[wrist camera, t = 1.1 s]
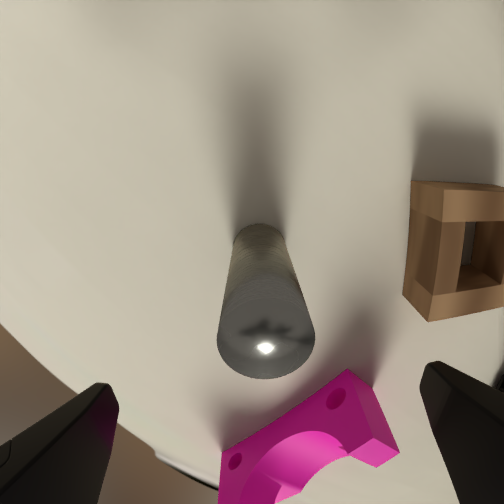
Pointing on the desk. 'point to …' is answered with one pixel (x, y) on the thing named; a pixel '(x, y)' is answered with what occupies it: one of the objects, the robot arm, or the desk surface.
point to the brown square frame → (454, 249)
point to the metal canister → (263, 308)
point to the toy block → (307, 443)
